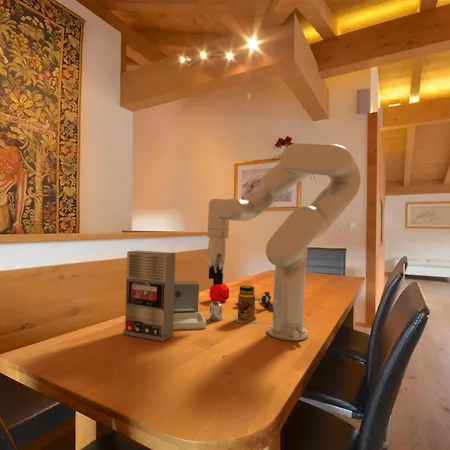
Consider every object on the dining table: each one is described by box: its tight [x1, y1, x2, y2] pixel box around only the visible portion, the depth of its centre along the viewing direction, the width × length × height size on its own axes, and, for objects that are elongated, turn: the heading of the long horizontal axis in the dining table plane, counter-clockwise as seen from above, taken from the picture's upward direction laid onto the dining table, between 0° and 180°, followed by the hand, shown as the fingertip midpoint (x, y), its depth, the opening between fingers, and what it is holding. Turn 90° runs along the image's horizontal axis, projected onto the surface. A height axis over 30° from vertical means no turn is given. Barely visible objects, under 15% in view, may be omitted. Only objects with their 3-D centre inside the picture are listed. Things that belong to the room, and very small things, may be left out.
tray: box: [173, 311, 207, 331], centre depth 105 cm, size 11×11×2 cm
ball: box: [209, 283, 230, 303], centre depth 137 cm, size 8×8×8 cm
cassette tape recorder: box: [122, 249, 176, 343], centre depth 93 cm, size 14×6×25 cm, turn 70°
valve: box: [255, 291, 272, 309], centre depth 129 cm, size 7×7×12 cm
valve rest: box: [260, 295, 273, 312], centre depth 130 cm, size 14×12×2 cm
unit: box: [174, 280, 200, 313], centre depth 114 cm, size 7×10×12 cm
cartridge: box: [209, 301, 223, 322], centre depth 111 cm, size 4×4×6 cm
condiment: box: [235, 285, 259, 324], centre depth 112 cm, size 7×8×12 cm
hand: (215, 281), depth 111 cm, fingers open, 9 cm apart
